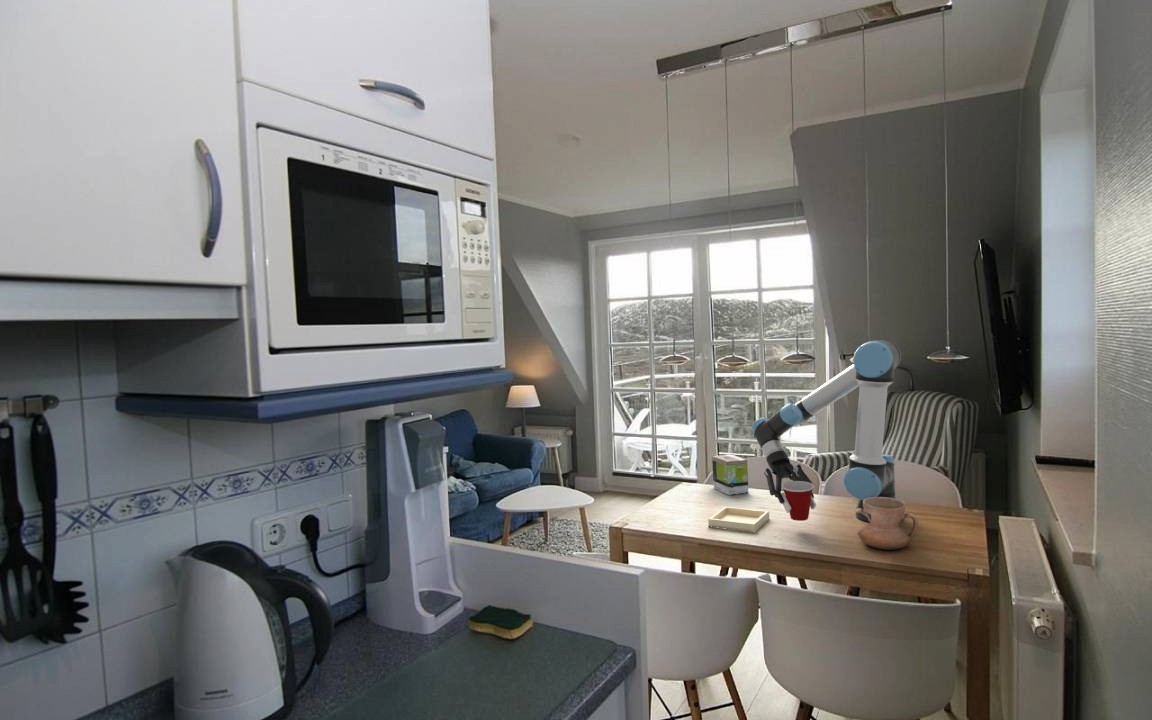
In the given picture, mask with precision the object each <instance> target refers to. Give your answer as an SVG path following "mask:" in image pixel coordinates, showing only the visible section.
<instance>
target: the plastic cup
mask: <svg viewBox="0 0 1152 720" xmlns="http://www.w3.org/2000/svg"><path fill="white" fill-rule="evenodd" d="M812 483H813V482H812ZM812 483H809V482H804V481H793V480H790V481H786V482H783V483H781V489H782V490H783V492H784V494H785V496H786V498H787V500H788V503H789V505H790V507H791V510H790V512H789V513H788V514H789V516H790V519H791V520H793V521H798V522H800V521H801V522H803V521H807V520H808V519H809V517H810V509H811V507H810V502H811V494H812V493H813V489H815V484H814V483H813V484H814V485H813V484H812Z"/></svg>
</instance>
